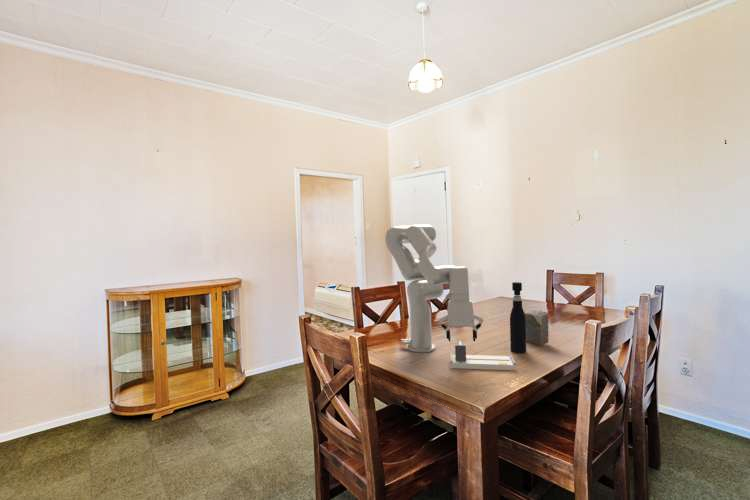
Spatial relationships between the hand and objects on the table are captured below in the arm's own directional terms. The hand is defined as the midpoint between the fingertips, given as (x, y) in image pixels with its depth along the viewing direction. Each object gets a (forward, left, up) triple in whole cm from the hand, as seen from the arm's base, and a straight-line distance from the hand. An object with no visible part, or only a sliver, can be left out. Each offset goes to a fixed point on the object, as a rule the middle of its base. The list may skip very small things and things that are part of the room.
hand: (461, 340), depth 143 cm
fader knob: (-1, +1, -7) cm, 7 cm away
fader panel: (+7, +1, -10) cm, 12 cm away
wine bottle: (+24, +19, -10) cm, 32 cm away
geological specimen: (+34, +33, -10) cm, 48 cm away
